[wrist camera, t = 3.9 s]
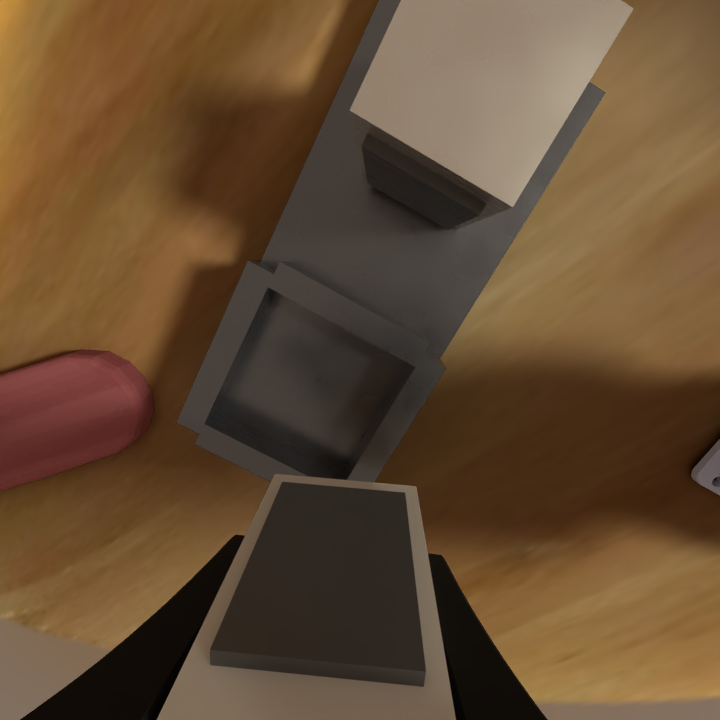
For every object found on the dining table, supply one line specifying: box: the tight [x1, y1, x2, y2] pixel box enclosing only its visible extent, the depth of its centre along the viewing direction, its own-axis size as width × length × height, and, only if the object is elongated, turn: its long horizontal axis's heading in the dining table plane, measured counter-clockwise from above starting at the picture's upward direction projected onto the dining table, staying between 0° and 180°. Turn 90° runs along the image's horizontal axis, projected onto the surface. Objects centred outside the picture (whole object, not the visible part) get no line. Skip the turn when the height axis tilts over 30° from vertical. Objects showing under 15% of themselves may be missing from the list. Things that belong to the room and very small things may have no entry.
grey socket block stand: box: [176, 0, 633, 482], centre depth 12 cm, size 8×18×8 cm, turn 152°
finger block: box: [157, 474, 456, 720], centre depth 8 cm, size 4×4×6 cm
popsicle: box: [0, 350, 154, 491], centre depth 18 cm, size 5×2×15 cm
